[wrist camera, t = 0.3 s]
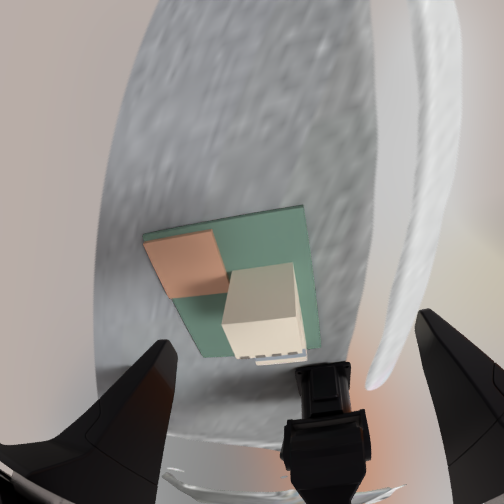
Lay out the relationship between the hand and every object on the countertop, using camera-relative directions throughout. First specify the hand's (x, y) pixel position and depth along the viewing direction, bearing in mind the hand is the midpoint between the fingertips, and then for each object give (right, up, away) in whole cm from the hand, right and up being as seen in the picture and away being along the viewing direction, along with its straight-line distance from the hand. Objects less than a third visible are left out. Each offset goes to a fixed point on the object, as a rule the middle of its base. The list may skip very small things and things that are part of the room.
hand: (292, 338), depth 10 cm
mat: (-2, -1, +17) cm, 17 cm away
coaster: (-7, +2, +15) cm, 16 cm away
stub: (0, 0, +15) cm, 15 cm away
